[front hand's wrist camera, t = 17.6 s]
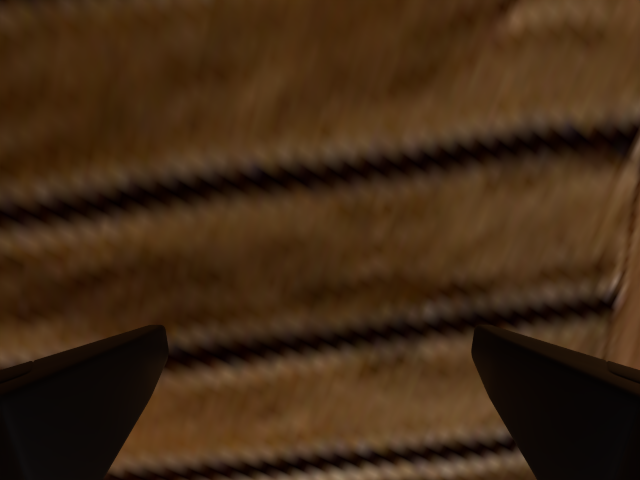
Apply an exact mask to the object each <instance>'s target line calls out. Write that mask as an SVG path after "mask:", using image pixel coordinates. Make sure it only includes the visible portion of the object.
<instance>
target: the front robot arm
mask: <svg viewBox="0 0 640 480" xmlns="http://www.w3.org/2000/svg"><path fill="white" fill-rule="evenodd" d="M168 353H169V350H168V343H167V336H166V330H165V327H164V326H163V325H148V326H145V327H142V328H138V329H135V330H132V331H129V332H125V333H122V334H119V335H116V336H112V337H109V338H106V339H103V340H99V341H96V342H93V343H90V344H86V345H83V346H80V347H77V348H73V349H70V350H67V351H64V352H60V353H57V354H54V355H51V356H47V357H44V358H41V359H38V360H35V361H34V362H32V361H29V362H26V363H23V364H20V365H16V366H13V367H9V368H6V369H3V370H0V480H103V479H104V477H105V475H106V473H107V472H108V470H109V468H110V467H111V465H112V463H113V461H114V460H115V458H116V456H117V455H118V453H119V451H120V449H121V448H122V446H123V444H124V443H125V441H126V439H127V437H128V436H129V434H130V432H131V431H132V429H133V427H134V425H135V424H136V422H137V420H138V419H139V417H140V415H141V413H142V412H143V410H144V408H145V407H146V405H147V403H148V401H149V400H150V398H151V396H152V394H153V391H154V389H155V387H156V384H157V382H158V380H159V377H160V375H161V373H162V370H163V368H164V366H165V363H166V361H167V358H168ZM471 353H472V358H473V361H474V363H475V366H476V368H477V370H478V373H479V375H480V377H481V380H482V382H483V384H484V387H485V389H486V391H487V394H488V396H489V398H490V400H491V401H492V403H493V405H494V407H495V408H496V410H497V412H498V413H499V415H500V417H501V419H502V420H503V422H504V424H505V425H506V427H507V429H508V431H509V432H510V434H511V436H512V437H513V439H514V441H515V443H516V444H517V446H518V448H519V449H520V451H521V453H522V455H523V456H524V458H525V460H526V461H527V463H528V465H529V467H530V468H531V470H532V472H533V473H534V475H535V477H536V479H537V480H640V370H637V369H634V368H631V367H627V366H624V365H620V364H617V363H614V362H611V361H608V362H606V361H605V360H602V359H599V358H596V357H593V356H589V355H586V354H583V353H580V352H576V351H573V350H570V349H567V348H563V347H560V346H557V345H554V344H550V343H547V342H544V341H541V340H537V339H534V338H531V337H528V336H524V335H521V334H518V333H515V332H511V331H508V330H505V329H502V328H498V327H495V326H492V325H477V326H476V327H475V330H474V336H473V343H472V350H471Z"/></svg>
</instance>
